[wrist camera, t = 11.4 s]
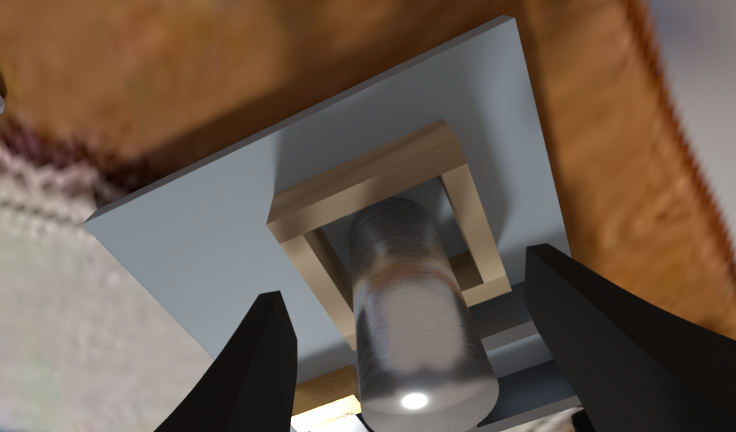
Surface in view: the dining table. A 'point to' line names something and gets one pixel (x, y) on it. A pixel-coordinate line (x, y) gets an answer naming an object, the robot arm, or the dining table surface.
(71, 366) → the dining table surface
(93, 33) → the dining table surface
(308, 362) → the board
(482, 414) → the frosted capsule tube
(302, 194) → the brown piece
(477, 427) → the socket
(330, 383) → the key
